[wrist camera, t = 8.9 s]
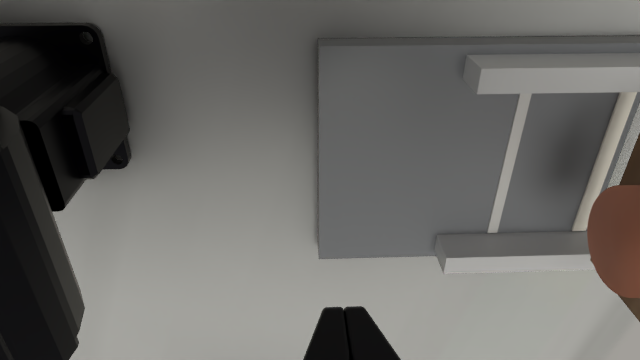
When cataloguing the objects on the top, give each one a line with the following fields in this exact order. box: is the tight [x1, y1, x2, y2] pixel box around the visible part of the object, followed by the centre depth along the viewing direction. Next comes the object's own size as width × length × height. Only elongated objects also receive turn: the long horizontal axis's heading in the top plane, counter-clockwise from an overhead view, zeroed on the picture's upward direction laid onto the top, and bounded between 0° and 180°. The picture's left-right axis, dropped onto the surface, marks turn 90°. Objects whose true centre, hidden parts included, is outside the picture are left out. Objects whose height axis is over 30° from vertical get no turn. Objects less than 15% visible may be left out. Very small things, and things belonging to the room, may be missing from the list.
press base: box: [318, 36, 640, 274], centre depth 21 cm, size 14×11×3 cm
